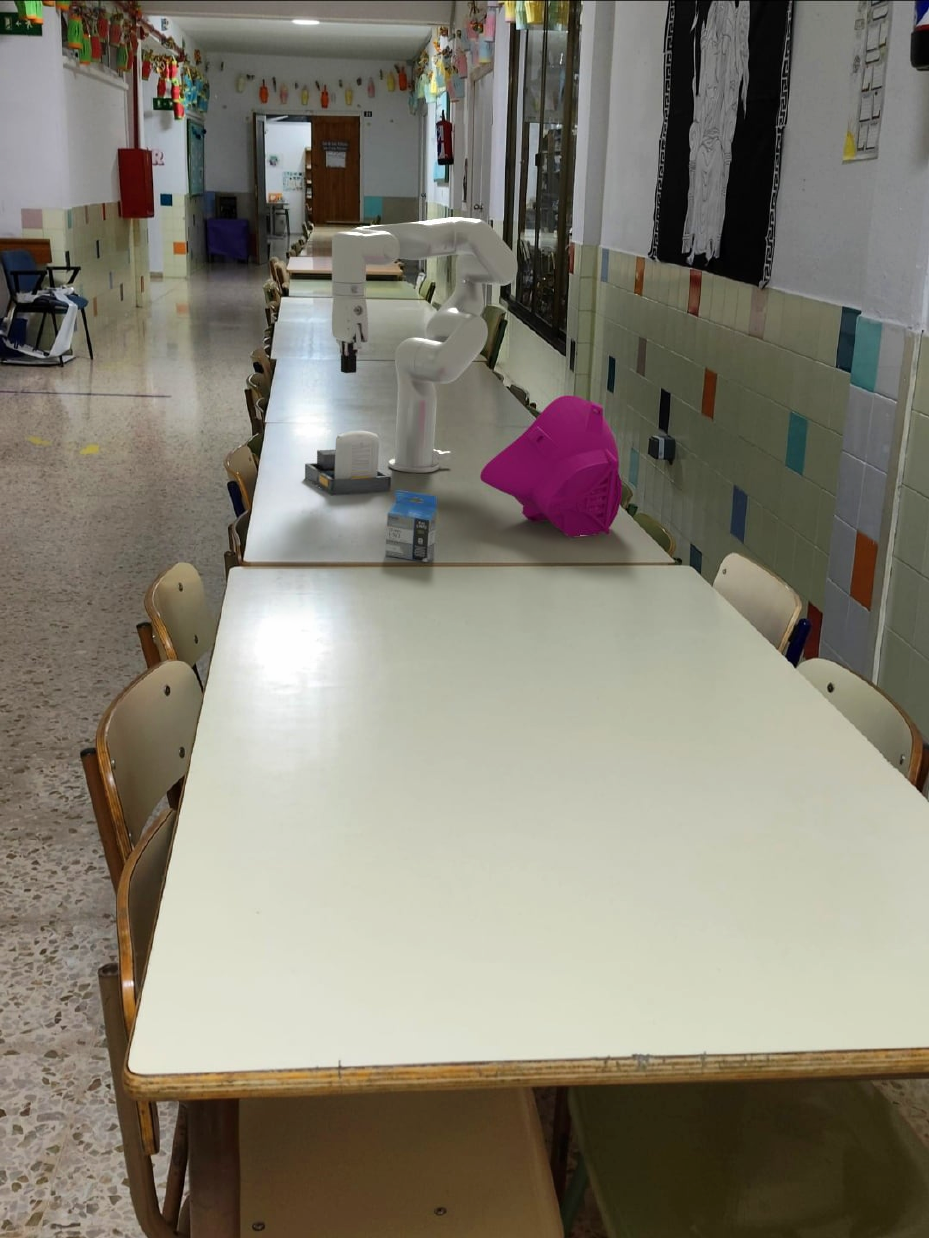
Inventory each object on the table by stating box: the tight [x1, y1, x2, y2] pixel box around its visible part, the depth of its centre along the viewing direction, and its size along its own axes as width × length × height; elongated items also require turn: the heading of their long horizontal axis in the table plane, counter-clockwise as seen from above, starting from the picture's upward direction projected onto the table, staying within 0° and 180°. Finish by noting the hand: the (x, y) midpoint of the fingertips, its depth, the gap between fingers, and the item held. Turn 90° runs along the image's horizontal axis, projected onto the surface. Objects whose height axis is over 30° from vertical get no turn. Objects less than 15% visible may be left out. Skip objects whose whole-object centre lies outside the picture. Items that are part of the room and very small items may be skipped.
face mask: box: [479, 394, 623, 538], centre depth 252 cm, size 28×23×30 cm
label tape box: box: [384, 489, 438, 563], centre depth 228 cm, size 9×4×12 cm, turn 69°
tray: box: [304, 449, 392, 496], centre depth 279 cm, size 15×16×7 cm
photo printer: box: [334, 430, 380, 479], centre depth 275 cm, size 10×4×12 cm, turn 121°
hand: (348, 372), depth 276 cm, fingers closed
